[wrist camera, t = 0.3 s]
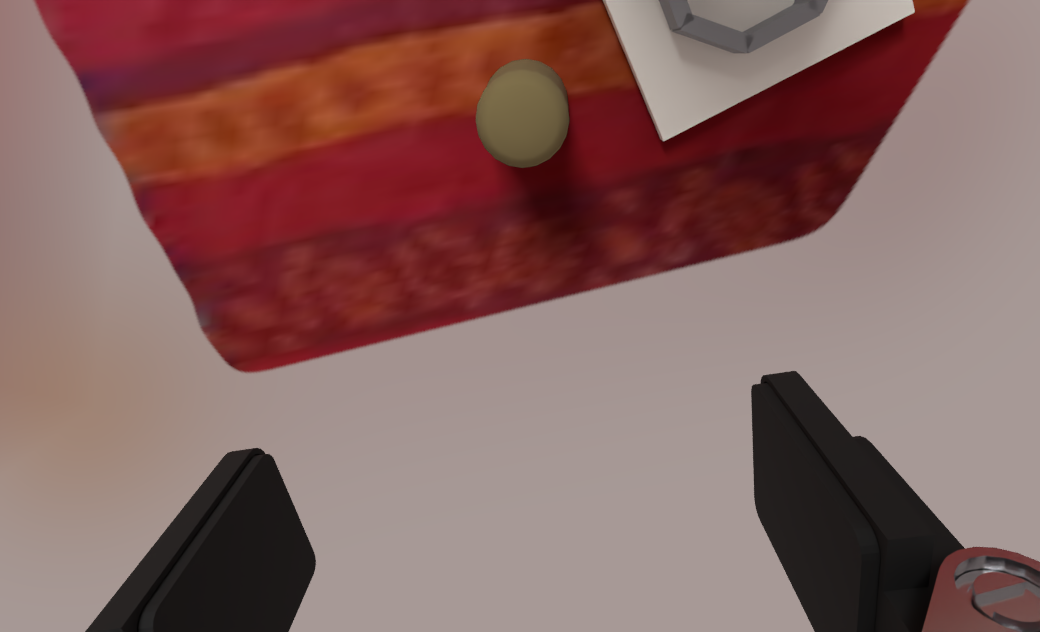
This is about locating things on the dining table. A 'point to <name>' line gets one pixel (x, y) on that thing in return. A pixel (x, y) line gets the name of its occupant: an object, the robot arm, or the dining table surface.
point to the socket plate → (730, 76)
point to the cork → (523, 114)
